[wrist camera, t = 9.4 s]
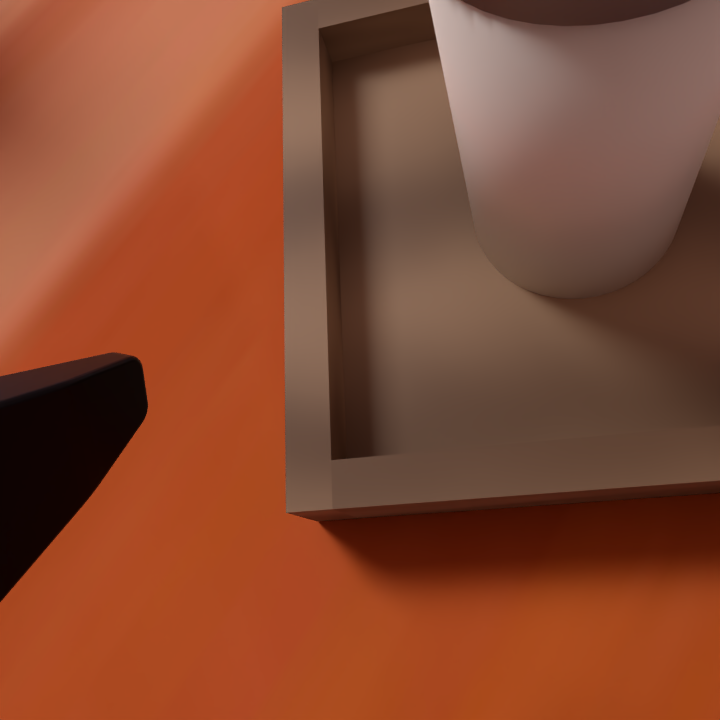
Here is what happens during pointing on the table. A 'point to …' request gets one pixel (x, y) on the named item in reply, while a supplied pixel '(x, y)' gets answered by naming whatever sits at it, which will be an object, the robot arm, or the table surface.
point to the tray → (463, 310)
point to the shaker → (579, 130)
